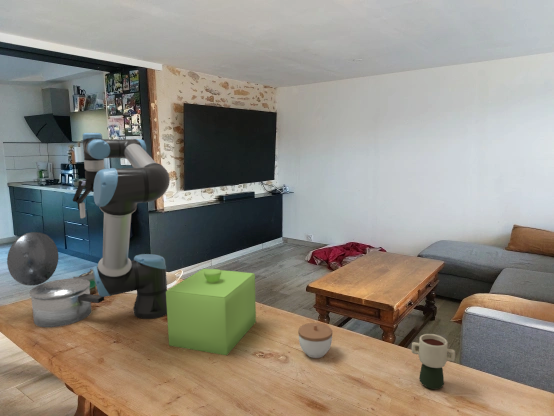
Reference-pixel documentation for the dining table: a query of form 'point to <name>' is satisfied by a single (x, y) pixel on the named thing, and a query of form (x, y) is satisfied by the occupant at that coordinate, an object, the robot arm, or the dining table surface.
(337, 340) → the dining table surface
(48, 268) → the cooker lid
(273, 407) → the dining table surface
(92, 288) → the food container
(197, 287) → the canister
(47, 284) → the cooker pot
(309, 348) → the lidded jar
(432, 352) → the character mug
